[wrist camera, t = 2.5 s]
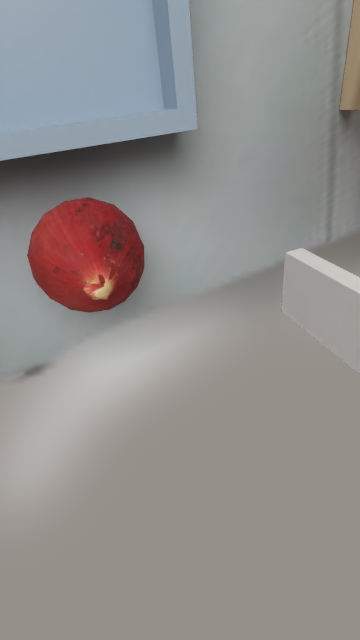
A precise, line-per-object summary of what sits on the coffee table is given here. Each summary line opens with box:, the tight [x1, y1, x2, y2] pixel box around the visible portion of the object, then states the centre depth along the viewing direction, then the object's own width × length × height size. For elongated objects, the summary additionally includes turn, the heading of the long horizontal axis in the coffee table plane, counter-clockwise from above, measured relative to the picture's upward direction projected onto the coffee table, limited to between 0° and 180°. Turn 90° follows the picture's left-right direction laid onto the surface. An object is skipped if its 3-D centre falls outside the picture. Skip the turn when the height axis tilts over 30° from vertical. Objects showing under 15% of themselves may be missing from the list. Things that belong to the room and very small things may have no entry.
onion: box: [27, 198, 144, 312], centre depth 18 cm, size 6×6×8 cm
